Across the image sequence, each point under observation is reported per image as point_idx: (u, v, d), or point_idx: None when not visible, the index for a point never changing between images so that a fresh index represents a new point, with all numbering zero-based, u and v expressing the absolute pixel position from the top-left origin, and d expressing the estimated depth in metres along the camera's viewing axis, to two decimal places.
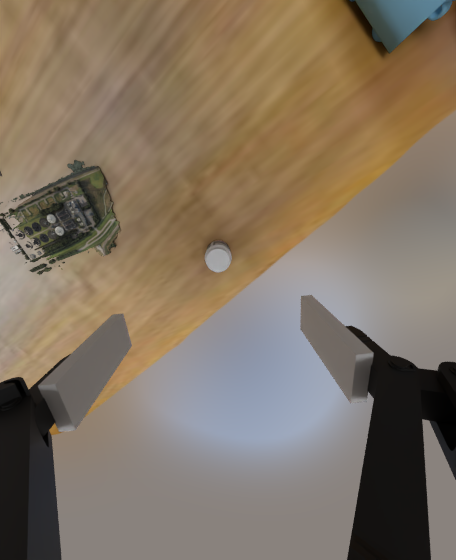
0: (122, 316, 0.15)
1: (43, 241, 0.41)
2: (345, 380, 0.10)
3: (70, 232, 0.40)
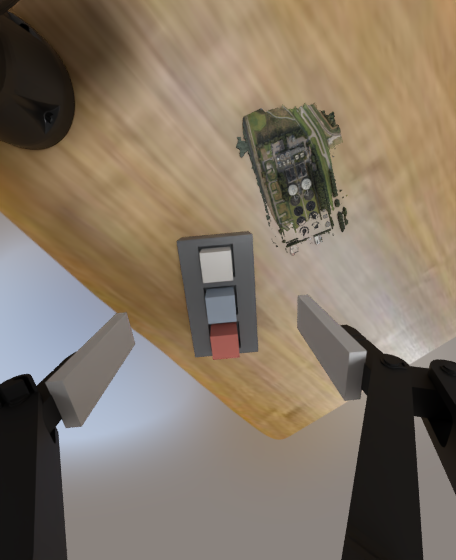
0: (126, 315, 0.15)
1: (313, 208, 0.37)
2: (339, 378, 0.10)
3: (309, 170, 0.35)
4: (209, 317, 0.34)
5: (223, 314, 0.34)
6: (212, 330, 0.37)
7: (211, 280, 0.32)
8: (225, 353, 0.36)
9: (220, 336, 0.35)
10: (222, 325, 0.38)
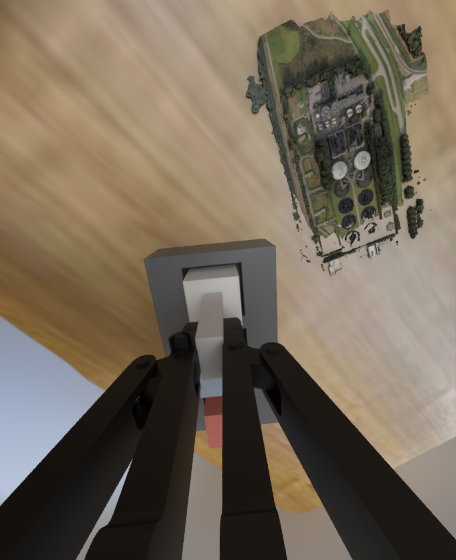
0: None
1: (370, 200, 0.23)
2: None
3: (369, 137, 0.21)
4: (202, 388, 0.20)
5: None
6: (208, 399, 0.23)
7: None
8: None
9: (221, 414, 0.21)
10: None
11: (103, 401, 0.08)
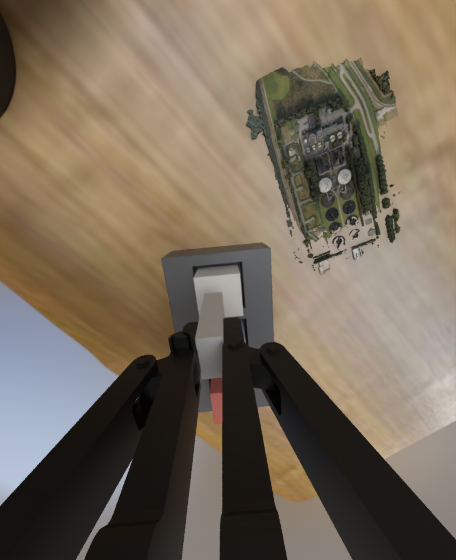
0: None
1: (353, 210, 0.27)
2: None
3: (349, 157, 0.25)
4: None
5: None
6: (213, 381, 0.26)
7: None
8: None
9: None
10: None
11: (103, 401, 0.08)
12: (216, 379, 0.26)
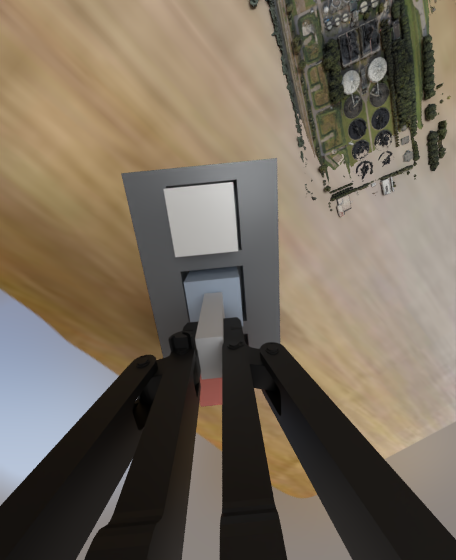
0: None
1: (385, 123, 0.20)
2: None
3: (386, 38, 0.18)
4: (193, 319, 0.18)
5: None
6: None
7: (192, 251, 0.15)
8: None
9: None
10: None
11: (103, 401, 0.08)
12: None
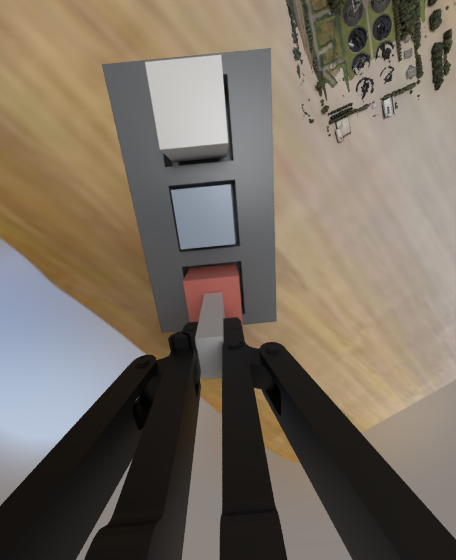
0: None
1: (387, 33, 0.19)
2: None
3: None
4: (182, 235, 0.17)
5: (209, 227, 0.17)
6: (189, 274, 0.19)
7: (178, 142, 0.14)
8: None
9: (203, 279, 0.17)
10: (210, 268, 0.20)
11: (103, 401, 0.08)
12: (194, 272, 0.19)
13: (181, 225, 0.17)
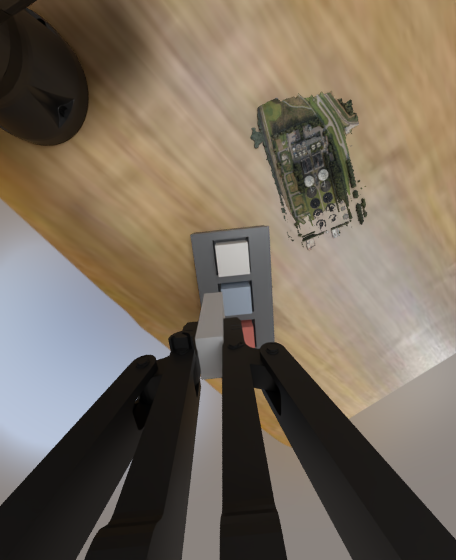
0: None
1: (331, 200, 0.36)
2: None
3: (326, 161, 0.34)
4: (225, 309, 0.34)
5: (239, 305, 0.34)
6: None
7: (227, 274, 0.31)
8: None
9: None
10: None
11: (103, 401, 0.08)
12: None
13: (225, 305, 0.34)
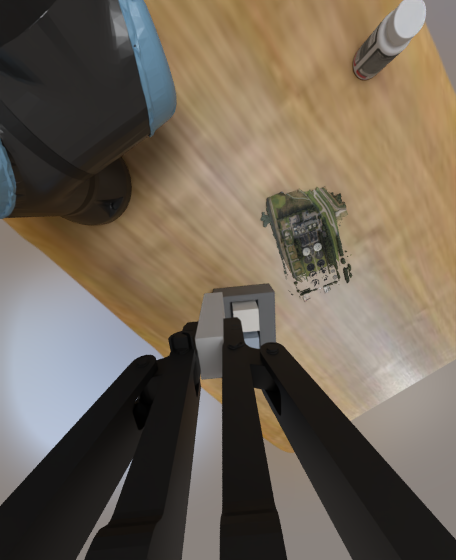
0: None
1: (323, 264, 0.44)
2: None
3: (320, 237, 0.42)
4: None
5: None
6: None
7: None
8: None
9: None
10: None
11: (103, 401, 0.08)
12: None
13: None
